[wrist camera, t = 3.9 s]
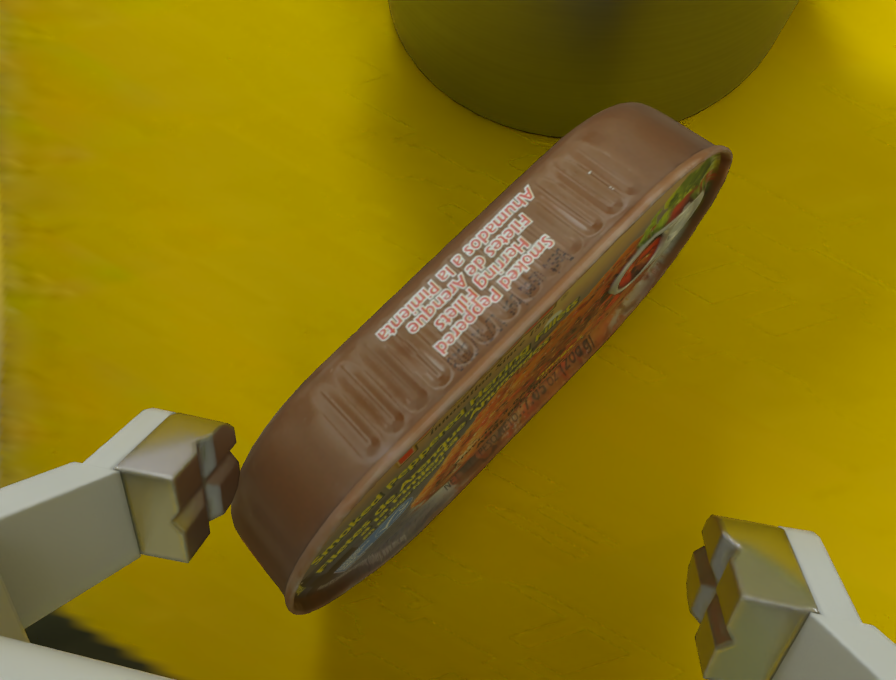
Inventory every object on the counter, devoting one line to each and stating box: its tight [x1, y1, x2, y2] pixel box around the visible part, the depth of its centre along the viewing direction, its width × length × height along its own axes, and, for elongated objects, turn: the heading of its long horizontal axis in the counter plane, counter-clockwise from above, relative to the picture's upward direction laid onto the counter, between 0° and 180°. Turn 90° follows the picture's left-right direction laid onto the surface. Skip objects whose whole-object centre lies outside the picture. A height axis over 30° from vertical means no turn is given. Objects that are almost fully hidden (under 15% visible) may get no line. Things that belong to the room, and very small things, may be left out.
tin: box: [231, 102, 733, 615], centre depth 15 cm, size 15×3×8 cm, turn 135°
